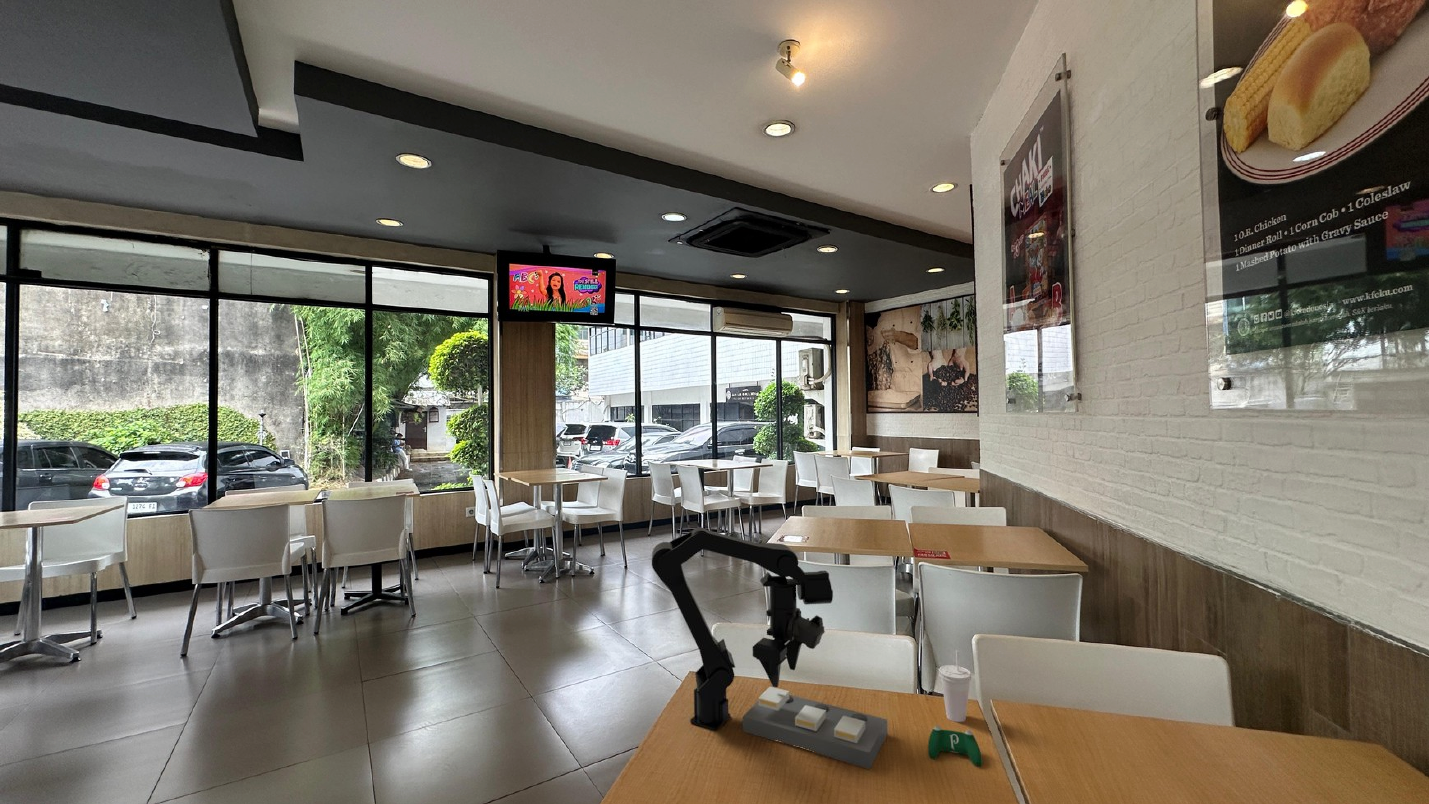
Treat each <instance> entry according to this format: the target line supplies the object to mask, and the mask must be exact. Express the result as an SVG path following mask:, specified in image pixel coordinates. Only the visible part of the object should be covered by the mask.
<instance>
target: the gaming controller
mask: <svg viewBox="0 0 1429 804" xmlns="http://www.w3.org/2000/svg"><path fill="white" fill-rule="evenodd" d="M927 751H928V757H929V758H930V760H931V759H932V760H936V759H938V757H939V754H940V752H941V751H942V752H945V753H948V752H949V753H955V754H960V755H963V756H965V755H967V756H968V758H969V760H970V761H971V762H972V765H973V766H975V767H981V766H982V764H983V759H982V753H981V748H980V746H979V743H978V742H977V740H976V738H975V735H974V734H973V732H972V730H970V729H967V730H965V732H962V731H956V730H949V729H941V727H940V725H935V726H934V727H933V728H932V730H931V732H930V734H929V738H928V744H927Z"/></svg>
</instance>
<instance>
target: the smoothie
mask: <svg viewBox="0 0 1429 804" xmlns="http://www.w3.org/2000/svg"><path fill="white" fill-rule="evenodd" d="M955 663H956V664H955V665H954V664H953V665H952V664H947V665H942V666H940V668H939V669H938V671H939V672H938V675H939V677H940V679H941V684H942V685H941V686H942V693H943V701H944V706H945V707H944V708H945V713H946V715H945V716H946V717H947V719H948V720H950V721H952V722H955V723H962V722H965V721H966V720H967V719H966V718H967V707H968V701H969V693H970V691H969V690H970V682H971V681H972V679H973V678H972V672H971V671H970V670H969V669H967V668H965V667H962V666H960V651H959V650H955Z"/></svg>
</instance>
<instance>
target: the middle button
mask: <svg viewBox="0 0 1429 804" xmlns="http://www.w3.org/2000/svg"><path fill="white" fill-rule="evenodd" d="M825 719H826V710H822V709H819V708H815V707H811V706H807V705H805V706H804V707H803V709H802V710H801V711H800V712H799V713H798V715H797V716H796V717H795V725H796V726H799V727H803V728H806V729H810V730H813V731H817V730H818V728H819V727H820V725H821V724H822V723H823V721H824V720H825Z"/></svg>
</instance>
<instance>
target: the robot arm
mask: <svg viewBox="0 0 1429 804" xmlns="http://www.w3.org/2000/svg"><path fill="white" fill-rule="evenodd" d="M703 550H705V551H709V552H712V553H716V554H719V555H720V554H721V555H724V556H728V557H732V558H735V559H739V560H742V561H746V562H749V563H754V564H756V565H758V566H760V567H761V568H763V569H765V570H767V571H769V572H766V573H765V575H764V576H763V577H762V578H760V580H759V581H760V583H761V584H762V586H763V587H767V588H768V587H769V609H767V610H766V617H769V628H768V629H766V635H767V636H771V637H772V638H773V639H772V638H767V637H763V638H761V639H760V640H759V641H757V642H756V643H755V644H754V645H753V646H752V657H753V658H755V659H756V660H759V662H760V664H761V666H762V668H763V670H764V671H765V673H766V676H767V677H768V679H769V681H770V684H771V687H774V688H778V687H779V683H780V675H781V665H782V663H784V662H785V661H786V660H787V663H788V667H789V669H790V670H792V671H795V670H796V667H797V663H798V659H799V656H800V652H801V648H802V646H803V645H805V646H806V647H807V648H808V649H812V650H814V649H815V648H816V647H817V646H818V645H819V644H820V642H821V640H822V636H823V634H825V626H824V623H823V618H822V617H821V616H819V615H815V616H813V617H812V619H810V618H808V617H807V618H805V617H803V616H802V611H801V609H800V608H799V607H797V604H798V603H797V598H798V600H799V601H802V602H803V604H804V605H805V606H806V605H823V604H828V605H829V604H832V602H833V600H834V599H833V598H834V590H833V588H832V583H831V579H830V573H829V572H828V571H827V570H819V571H804V570H803V568H802V567H800V566H799V559H798V557H797V555H796V553H795V552H794V551H793V550H792V549H791V548H790V547H789V546H788V545H786V544H784V543H774V542H754V541H750V540H746V539H742V538H738V537H735V536H730V535H729V534H728V535H727V534H724V533H719V532H716V531H713V530H708V529H706V528H704V527H701V526H698V527H695V528H694V529H693V530H691V531H689V532H688V533H685V534H683V535H680V536H678V537H676V538H674V539H672V540H671V541H669V542H668V541H666V542H665V541H663V542H660V543H658V544H656V545H655V546H654V548H653V550H652V553H651V566H652V567H651V568H652V569H653V571H654V573H655V574H656V575H657V577H658V578H659V580H660V581H661V582H662V583H663V584H664V585H665V587H666V588H667V589H668V590H669V592H671V595H672V596H673V598H674V600H675V603H676V605H677V607H678V609H679V611H680V613H681V615H682V617H683V619H684V621H685V623H686V625H687V627H688V629H689V632H690V634H691V636H692V638H693V640H694V641H695V644H696V646H697V648H698V650H699V653H700V657H701V662H702V665H701V666H700V667H699V668H698V669H697V671H696V672H695V673H694V675H695V677H694V678H695V682H696V688H694V690H693V715H694V716H693V717H692V718H690V719H689V722H690V723H691V724H693V725H696V726H700V727H702V728H706V729H710V730H712V731H717V730H719V728H721V727H722V726H723V725H724V723H726V722H727V721H728V720H729V719H730V718H731V713H730V712H729V698H727V689H728V687H730V686H731V685H732V683H733V681H734V679H735V672H734V669H735V668H736V665H735V662H734V658H733V655H732V652H730V651H729V650H728V648H727V646H726V642H725V639H724V638H722V639H721V640H719V641H718V640H717V639H716V638H715V636H714V635H713V634H712V631H711V629H710V627H709V625H708V622H707V621H706V619H705V617H704V615H703V613H702V611H701V609H700V608H701V607H700V606H699V604H698V603H697V600H696V597H695V596H694V594H693V592H692V590H691V588H690V586H689V584H688V581H687V580H686V576H685V573H684V572H685V571H684V568H683V564H684V563H686V562H688V561H689V560H691V558H693V557H694V556H695V555H696V554H698V553H699V552H702V551H703ZM771 573H772V574H775V575H772V574H771ZM787 577H790V578H787ZM802 644H803V645H802Z"/></svg>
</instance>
